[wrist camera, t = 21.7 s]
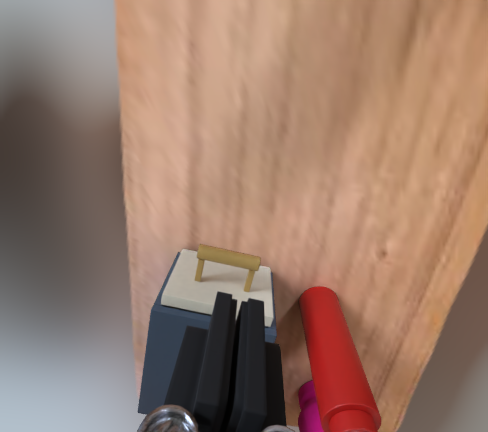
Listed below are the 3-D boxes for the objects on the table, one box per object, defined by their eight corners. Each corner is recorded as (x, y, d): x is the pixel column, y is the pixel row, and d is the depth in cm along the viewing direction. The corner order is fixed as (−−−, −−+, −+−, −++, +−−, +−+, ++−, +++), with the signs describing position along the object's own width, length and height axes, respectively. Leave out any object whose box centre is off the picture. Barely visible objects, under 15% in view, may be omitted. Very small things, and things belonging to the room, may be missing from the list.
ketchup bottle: (305, 282, 37) (343, 445, 21) (343, 290, 38) (410, 458, 21) (294, 312, 39) (320, 483, 23) (329, 320, 40) (382, 494, 23)
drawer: (187, 217, 34) (167, 257, 26) (279, 238, 34) (285, 283, 27) (168, 334, 41) (147, 392, 33) (244, 349, 41) (241, 410, 34)
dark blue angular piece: (178, 251, 36) (150, 310, 27) (272, 272, 37) (277, 336, 28) (163, 340, 42) (137, 413, 33) (245, 357, 43) (241, 432, 34)
